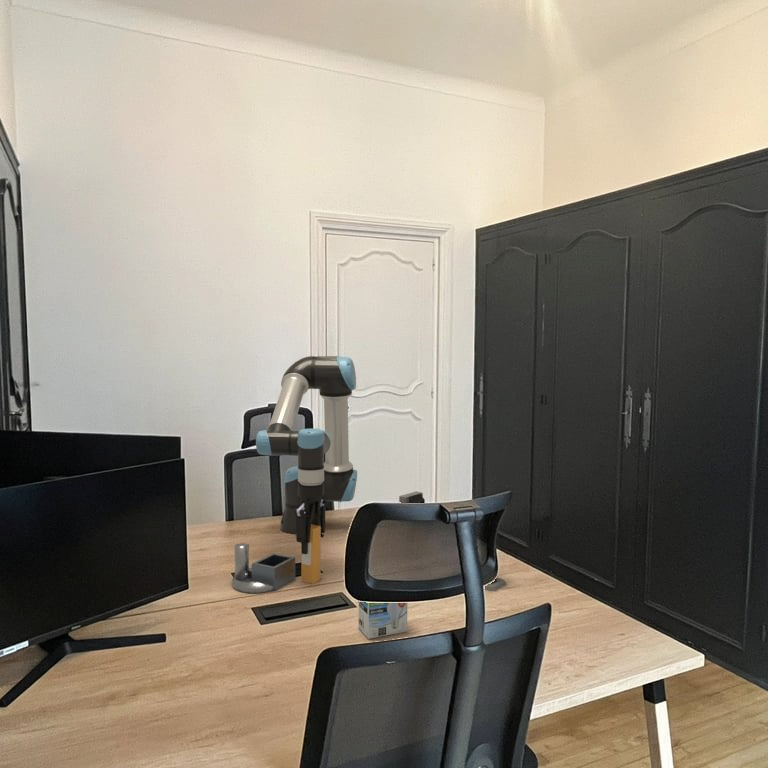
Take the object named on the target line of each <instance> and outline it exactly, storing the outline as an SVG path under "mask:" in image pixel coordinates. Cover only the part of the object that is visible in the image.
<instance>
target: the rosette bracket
mask: <svg viewBox="0 0 768 768" xmlns="http://www.w3.org/2000/svg"><path fill="white" fill-rule="evenodd" d="M295 580H296V557H294V556H290V555H284V554H280V553H273V552H272V553H271V554H268V555H267V556H265V557H262V558H260V559H258V560H256V561H254V562H252V563H251V567H250V545H249V544H248V543H246V542H240V543H236V544H235V545H234V576H233V577H232V579H231V584H232V585H231V587H232V589H233V590H235V591H236V592H239V593H243V594H252V595H253V594H265V593H270V592H275V591H277V590H279V589H281V588H283V587H284V586H286V585H288V584H290V583H291V582H294V581H295Z"/></svg>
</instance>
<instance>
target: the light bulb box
mask: <svg viewBox="0 0 768 768" xmlns="http://www.w3.org/2000/svg"><path fill="white" fill-rule="evenodd" d="M408 604H409V603H366V602H359V601H358V622H357V623H358V626H357V627H358V629H359V630H360V631H361V633H363V635H364V636H365V637H366V638H367V639H368V640H370V639H371V640H372V639H375V638H376V639H377V638H380V637H381V638H382V637H386V636H390V635H396V634H401V633H402V634H403V633H407V632H408Z"/></svg>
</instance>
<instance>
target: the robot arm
mask: <svg viewBox="0 0 768 768" xmlns="http://www.w3.org/2000/svg"><path fill="white" fill-rule="evenodd" d="M355 368H356V367H355V364H354V362H353V360H352V358H351V357H348V356H340V355H334V356H333V355H329V356H328V355H327V356H325V355H323V356H321V355H318V356H313V355H310V356H305V357H302V358H300V359H298V360H297V361H295V362H294V363H293V364H291V365H290V366H289V367H288V368H287V369H286V370H285V372H284V374H283V375H282V378H281V381H280V386H281V390H280V393H279V396H278V399H277V402H276V403H275V404H276V405H275V408H274V410H273V414H272V415H271V419H270V422H269V424H268V428H267V429H264V430H259V431H258V432H257V435H256V438H255V448H256V452H257V453H258V454H259V455H263V456H271V457H272V456H288V457H289V456H293V457H295V456H296V457H297V465H296V466H292V467H289V468H288V469H287V470H285V473H284V475H285V476H284V480H283V482H284V504H285V505H284V510H283V513H282V516H281V520H280V530H281V531H282V532H285V533H288V534H295V539H296V542H298V543H301V545H300V546H301V547H300V549H301V551H300V552H302V564H306V565H311V542H309V539H310V530H311V524H312V525H318V526H321V538H324V536H325V533H326V508H327V503H328V502H340V503H342V502H351V501H352V500H354V498H355V492H356V487H357V481H358V470H357V469H354V465H353V463H352V462H351V461H350V460H349V459H350V453H349V451H350V449H349V446H350V445H349V398H350V397H351V396H352V394H353V391H354V390H356V389H357V375H356V369H355ZM311 389H312V390H319V391H318V393H319V396H320V397H321V398H322V399H323V412H324V413H323V416H324V417H323V418H324V419H323V420H324V430H323V429H320V428H304V429H303V428H302V429H300V430H294V427H295V424H296V420H297V418H298V415H299V414H298V413H299V411H300V410H299V409H300V407H301V405H302V404H301V403H302V401H303V397H304V395H305V394H306V393H307V392H308V390H311Z"/></svg>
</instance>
